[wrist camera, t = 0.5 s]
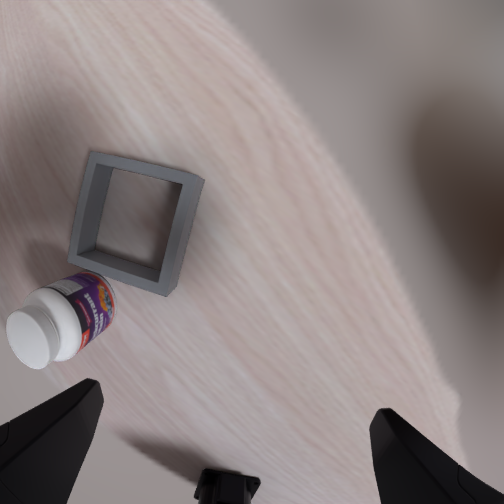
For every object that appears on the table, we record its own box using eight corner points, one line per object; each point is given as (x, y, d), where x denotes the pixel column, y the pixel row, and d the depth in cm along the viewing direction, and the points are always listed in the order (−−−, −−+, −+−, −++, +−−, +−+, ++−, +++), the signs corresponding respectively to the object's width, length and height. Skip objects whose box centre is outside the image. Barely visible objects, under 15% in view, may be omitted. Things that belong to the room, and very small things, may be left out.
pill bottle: (119, 333, 24) (63, 389, 15) (70, 323, 24) (6, 366, 15) (118, 274, 24) (51, 309, 14) (67, 266, 24) (-7, 292, 14)
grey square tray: (176, 286, 24) (166, 297, 21) (85, 256, 23) (67, 261, 21) (204, 179, 23) (197, 175, 20) (108, 156, 22) (90, 150, 19)
